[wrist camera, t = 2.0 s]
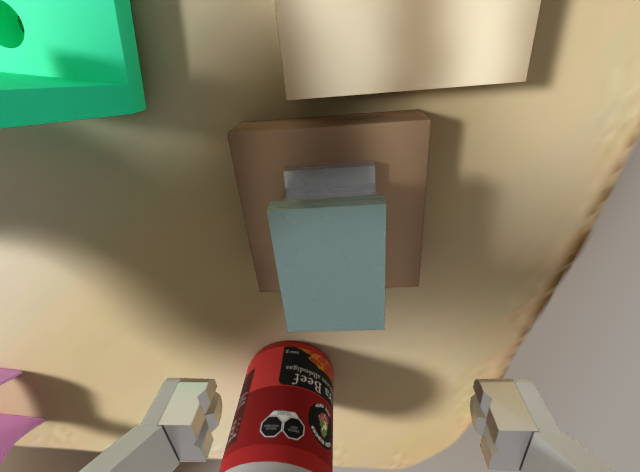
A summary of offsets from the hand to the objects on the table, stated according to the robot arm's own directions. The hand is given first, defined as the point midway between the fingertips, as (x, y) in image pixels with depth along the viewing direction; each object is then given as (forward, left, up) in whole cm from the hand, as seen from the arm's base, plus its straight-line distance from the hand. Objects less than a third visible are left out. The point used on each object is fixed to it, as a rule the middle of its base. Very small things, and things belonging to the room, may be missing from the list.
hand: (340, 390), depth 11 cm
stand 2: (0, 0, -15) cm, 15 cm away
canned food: (-5, -17, -15) cm, 23 cm away
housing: (0, 0, -12) cm, 12 cm away
